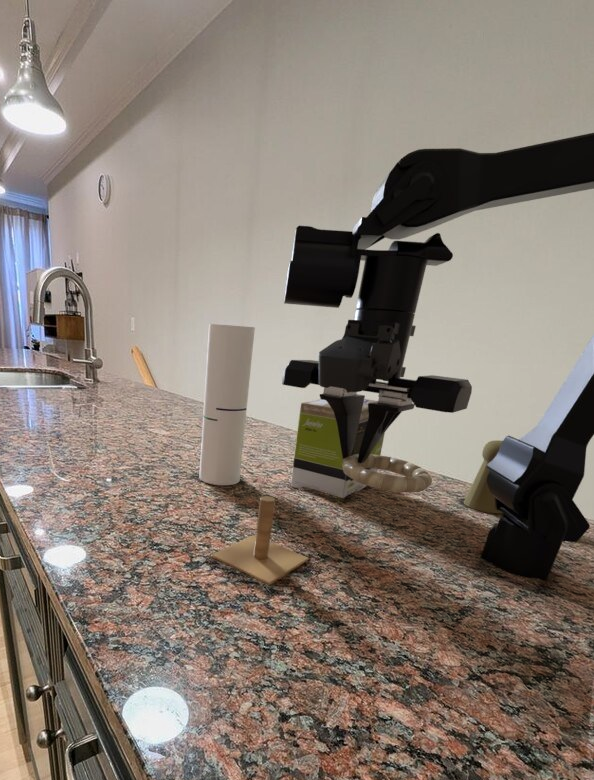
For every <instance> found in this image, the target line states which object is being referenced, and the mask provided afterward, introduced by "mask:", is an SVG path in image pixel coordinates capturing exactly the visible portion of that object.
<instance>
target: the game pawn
mask: <svg viewBox="0 0 594 780" xmlns="http://www.w3.org/2000/svg"><path fill="white" fill-rule="evenodd" d="M502 442H503V440H490V441H488V442H486V443H485V445H484V446H483V449H482V451H481V452H482V458H483V461H482V463H481V465H480V467H479V468H478V472H477V473H476V475H475V478H474V479H473V482H472V484H471V486H470V488H469V490H468V493H467V494H466V497H465V499H464V501H463V504H464V505H465V506H467V507H468V508H470V509H472V510H476V511H479V512H483V513H489V514H503V513H502V512H501V511H499V510H497V509H496V508H495V498H494V496H493V495H492V494H491V492H490V491H489V488H488V484H487V476H488V474H489V471H490V470H491V469H489V468H488V467H487V464H488V463H490V462H491V461H492V460H493V459H494V458H495V456H496V455H497V453H498V451H499V449H500V446H501V444H502Z"/></svg>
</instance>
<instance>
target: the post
mask: <svg viewBox="0 0 594 780" xmlns="http://www.w3.org/2000/svg"><path fill="white" fill-rule="evenodd" d="M275 504H276V499H275V498H274V497H273V496H267V495H263V496H261V497H260V498H259V506H258V514H257V515H258V516H257V524H256V532H255V534H252V535H250V536H248V537H246V538H244V539H241V540H239V541H237V542H235V543H233V544H231V545H229V546H226V547H225V548H223V549H220V550H219V551H216V552H214V553H212V554H211V555H210V557H211V558H213V559H214V560H217V561H219V562H221V563H223V564H225V565H227V566H228V567H229V566H230V567H231V568H234V569H236V570H238V571H240V572H242V573H244V574H246V575H248V576H250V577H252V578H254V579H256V580H259V581H261V582H263V583H265V584H267V585H269V586H270V585H273V584H274V583H275V582H276V581H279V580H280V579H281V578H283V577H284V576H286V575H287V574H289V573H291V572H292V571H294V570H295V569H297V568H298V567H300V566H301V565H303V564H305V563H306V562H308V561H309V559H310V558H309V557H308V556H305V555H303V554H300V553H298V552H295V551H293V550H291V549H289V548H287V547H284V546H281V545H279V544H276V543H274V542H271V536H272V535H271V534H272V527H273V520H274V513H275V511H274V510H275Z"/></svg>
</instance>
